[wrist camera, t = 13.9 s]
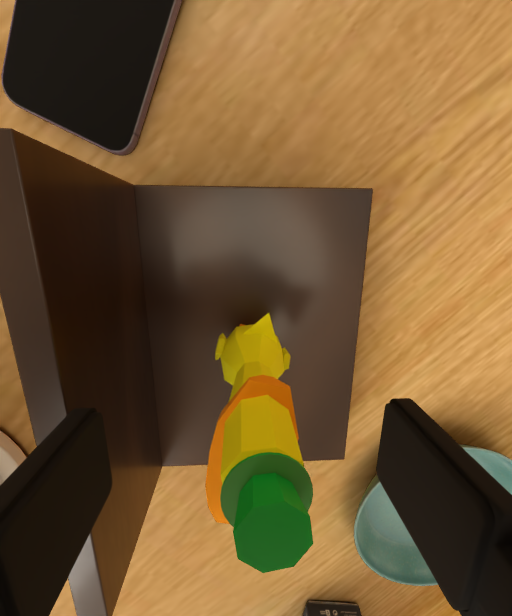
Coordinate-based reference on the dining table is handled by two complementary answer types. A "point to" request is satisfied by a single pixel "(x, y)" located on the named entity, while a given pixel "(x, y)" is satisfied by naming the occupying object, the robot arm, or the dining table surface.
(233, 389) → the toy figure
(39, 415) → the shelf
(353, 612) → the box
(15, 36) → the smartphone
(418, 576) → the saucer
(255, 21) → the dining table surface
